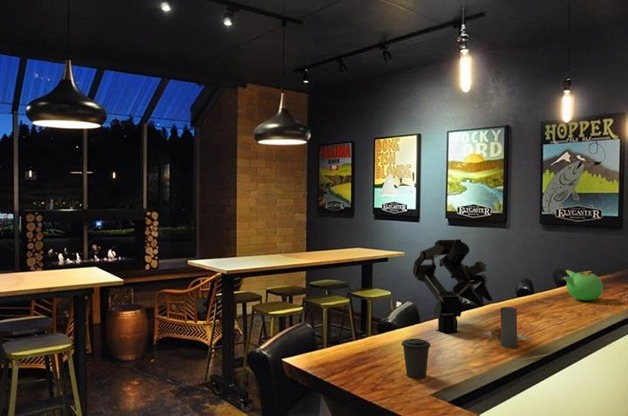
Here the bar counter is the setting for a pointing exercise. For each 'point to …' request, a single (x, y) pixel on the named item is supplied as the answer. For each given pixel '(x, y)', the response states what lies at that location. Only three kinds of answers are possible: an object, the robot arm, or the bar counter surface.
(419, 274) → the robot arm
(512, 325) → the dark grey cylinder
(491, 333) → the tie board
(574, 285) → the toy bird
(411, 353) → the coffee cup
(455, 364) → the bar counter surface
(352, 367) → the bar counter surface
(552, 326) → the bar counter surface
